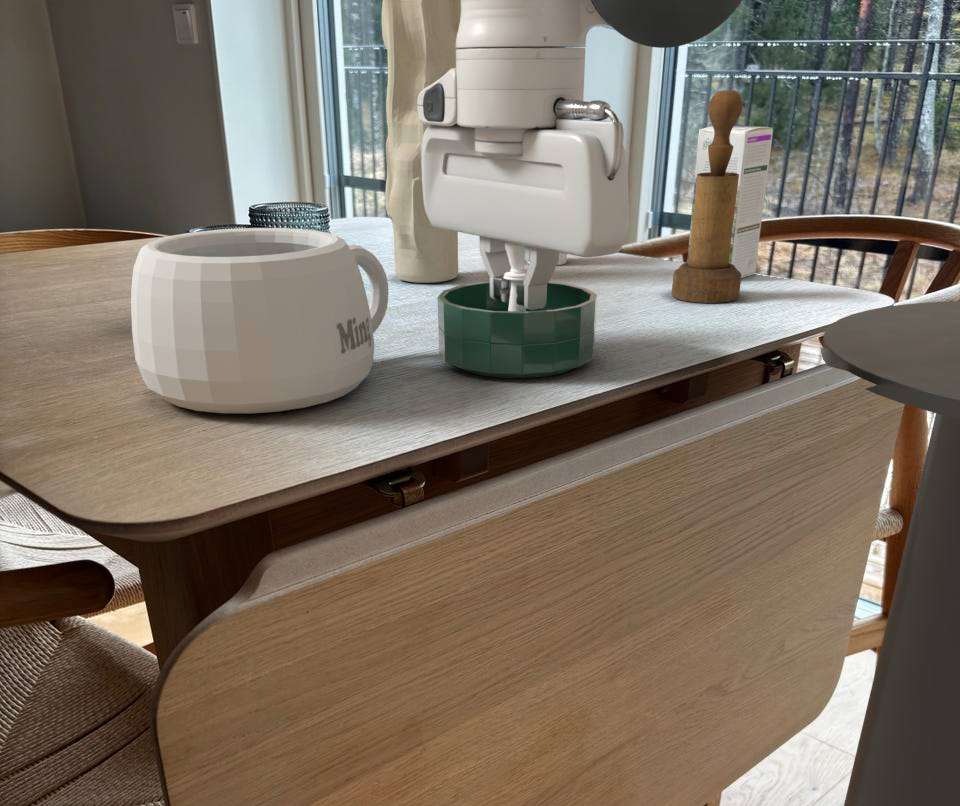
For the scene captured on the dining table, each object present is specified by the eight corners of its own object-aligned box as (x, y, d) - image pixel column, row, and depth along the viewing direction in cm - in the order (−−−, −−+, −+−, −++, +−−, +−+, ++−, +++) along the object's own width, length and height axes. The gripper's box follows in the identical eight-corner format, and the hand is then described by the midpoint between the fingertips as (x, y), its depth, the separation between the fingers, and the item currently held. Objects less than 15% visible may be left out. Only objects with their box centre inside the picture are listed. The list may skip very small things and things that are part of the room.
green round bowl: (625, 364, 76) (629, 298, 73) (501, 392, 70) (502, 320, 67) (529, 335, 84) (530, 274, 82) (411, 357, 78) (409, 292, 76)
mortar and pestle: (683, 304, 94) (704, 91, 85) (662, 291, 100) (679, 89, 91) (749, 301, 95) (776, 90, 86) (724, 288, 101) (747, 89, 92)
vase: (481, 278, 107) (479, -57, 92) (428, 290, 101) (417, -64, 86) (423, 269, 112) (413, -51, 97) (370, 280, 106) (350, -57, 91)
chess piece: (551, 344, 78) (555, 209, 73) (543, 360, 74) (547, 218, 69) (490, 342, 79) (490, 208, 74) (480, 358, 75) (479, 217, 70)
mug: (240, 441, 61) (217, 273, 56) (96, 392, 70) (65, 244, 65) (466, 369, 75) (464, 230, 70) (321, 337, 84) (309, 211, 79)
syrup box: (757, 274, 108) (776, 125, 100) (728, 282, 104) (746, 128, 97) (712, 268, 111) (727, 124, 104) (683, 275, 107) (697, 126, 100)
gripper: (659, 99, 62) (642, 322, 69) (472, 94, 76) (474, 279, 83) (584, 102, 59) (574, 335, 66) (404, 96, 73) (412, 288, 80)
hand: (517, 304), depth 75 cm, fingers closed on chess piece
